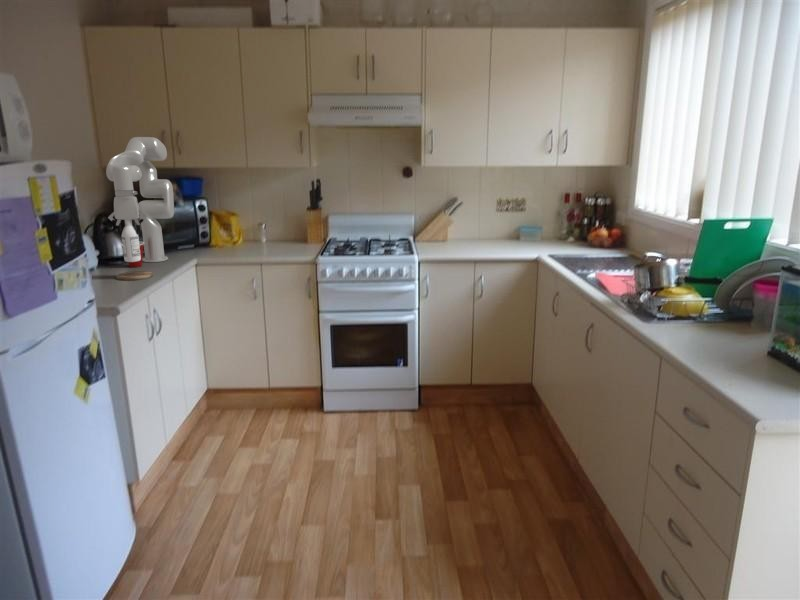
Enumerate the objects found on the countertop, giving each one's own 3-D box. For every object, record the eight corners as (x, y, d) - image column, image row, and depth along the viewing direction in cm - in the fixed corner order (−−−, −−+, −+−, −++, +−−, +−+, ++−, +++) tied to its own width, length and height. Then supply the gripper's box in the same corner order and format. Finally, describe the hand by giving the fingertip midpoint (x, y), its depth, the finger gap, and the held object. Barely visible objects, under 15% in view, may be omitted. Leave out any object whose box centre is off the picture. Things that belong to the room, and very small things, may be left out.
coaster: (119, 274, 261) (119, 271, 260) (154, 272, 265) (153, 269, 265) (114, 281, 247) (114, 278, 247) (150, 279, 251) (150, 276, 251)
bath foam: (143, 259, 257) (138, 216, 252) (138, 262, 251) (133, 218, 245) (127, 259, 257) (122, 216, 251) (122, 262, 250) (116, 218, 245)
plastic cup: (118, 267, 275) (115, 243, 272) (136, 263, 285) (133, 240, 282) (134, 269, 271) (131, 245, 268) (151, 265, 281) (149, 242, 277)
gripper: (146, 193, 252) (151, 232, 256) (104, 193, 247) (110, 233, 251) (144, 194, 245) (149, 234, 250) (101, 195, 240) (107, 235, 244)
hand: (129, 233), depth 250 cm, fingers closed on bath foam, 6 cm apart
